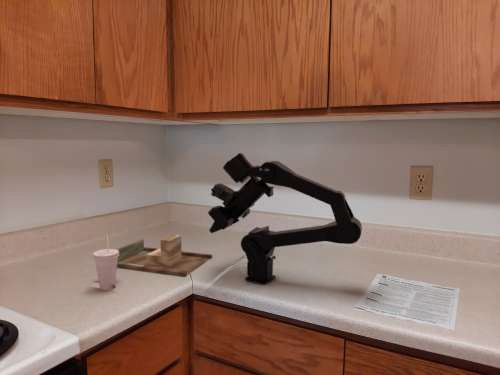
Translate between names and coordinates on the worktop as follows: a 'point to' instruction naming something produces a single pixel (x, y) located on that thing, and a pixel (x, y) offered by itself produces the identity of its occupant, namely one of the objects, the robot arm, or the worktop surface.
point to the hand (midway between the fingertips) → (211, 231)
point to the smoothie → (106, 266)
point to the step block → (166, 252)
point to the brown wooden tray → (137, 255)
